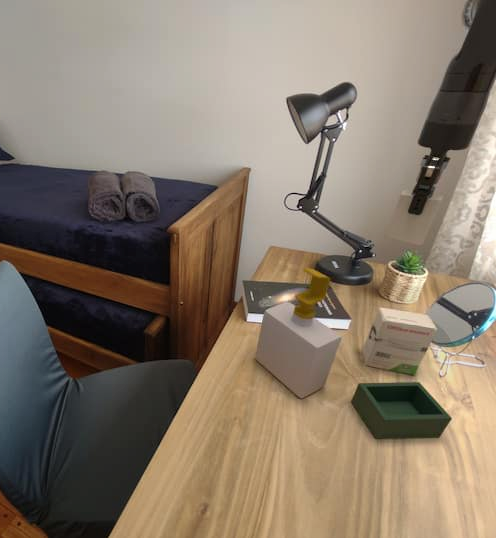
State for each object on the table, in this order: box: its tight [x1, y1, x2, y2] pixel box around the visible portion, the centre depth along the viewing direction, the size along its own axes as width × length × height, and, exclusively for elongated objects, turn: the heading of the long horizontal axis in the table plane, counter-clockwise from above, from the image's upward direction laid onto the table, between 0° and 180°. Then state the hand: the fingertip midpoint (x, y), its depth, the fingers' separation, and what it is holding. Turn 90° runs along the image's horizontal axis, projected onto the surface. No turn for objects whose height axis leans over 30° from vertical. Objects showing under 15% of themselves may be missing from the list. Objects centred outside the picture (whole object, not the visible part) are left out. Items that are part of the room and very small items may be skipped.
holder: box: [350, 381, 453, 440], centre depth 60 cm, size 11×7×5 cm
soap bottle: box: [254, 268, 342, 399], centre depth 65 cm, size 12×7×23 cm, turn 27°
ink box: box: [361, 306, 438, 376], centre depth 70 cm, size 9×5×12 cm, turn 70°
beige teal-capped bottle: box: [384, 184, 444, 246], centre depth 72 cm, size 4×6×11 cm, turn 49°
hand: (415, 210), depth 72 cm, fingers closed on beige teal-capped bottle, 4 cm apart
